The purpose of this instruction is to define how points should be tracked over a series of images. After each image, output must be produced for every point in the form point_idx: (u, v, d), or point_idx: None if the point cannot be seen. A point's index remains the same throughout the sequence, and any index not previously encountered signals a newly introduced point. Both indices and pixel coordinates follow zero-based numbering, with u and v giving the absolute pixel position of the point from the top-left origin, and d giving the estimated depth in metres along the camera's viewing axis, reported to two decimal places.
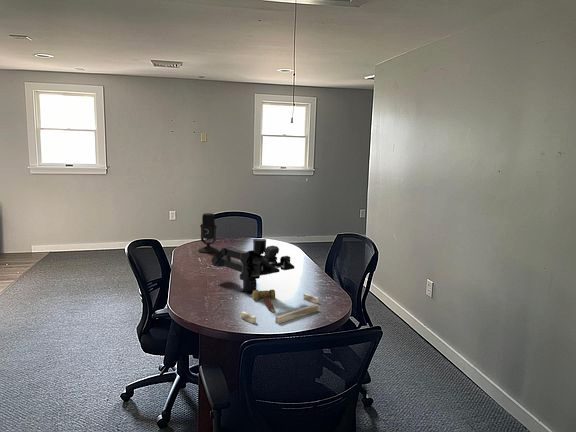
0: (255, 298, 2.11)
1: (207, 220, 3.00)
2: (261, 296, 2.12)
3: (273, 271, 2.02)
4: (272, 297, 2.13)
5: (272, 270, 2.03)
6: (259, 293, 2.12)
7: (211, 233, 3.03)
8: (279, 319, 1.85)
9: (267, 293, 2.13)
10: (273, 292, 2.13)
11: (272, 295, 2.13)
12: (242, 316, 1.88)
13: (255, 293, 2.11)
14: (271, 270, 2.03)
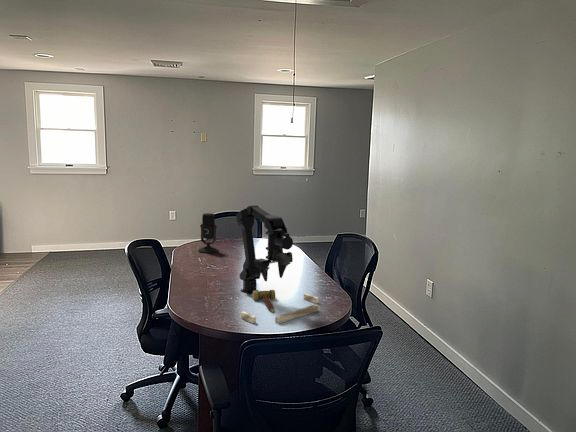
0: (255, 298, 2.11)
1: (207, 220, 3.00)
2: (261, 296, 2.11)
3: (263, 275, 2.03)
4: (272, 297, 2.13)
5: (263, 274, 2.03)
6: (259, 293, 2.12)
7: (211, 233, 3.03)
8: (279, 319, 1.85)
9: (267, 293, 2.12)
10: (273, 292, 2.13)
11: (272, 295, 2.12)
12: (242, 316, 1.88)
13: (255, 293, 2.11)
14: (263, 273, 2.03)
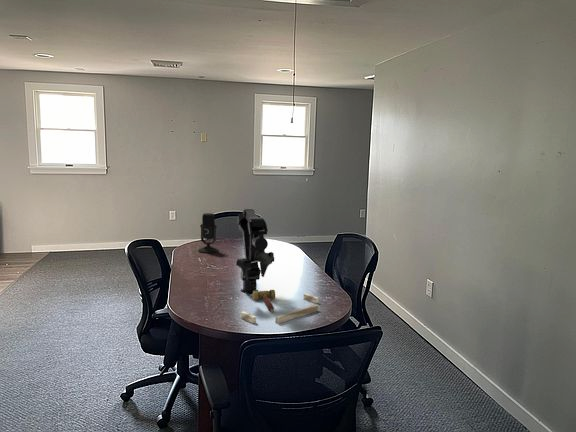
0: (255, 298, 2.10)
1: (207, 220, 3.00)
2: (261, 296, 2.11)
3: (245, 274, 2.08)
4: (272, 297, 2.12)
5: (245, 273, 2.07)
6: (259, 293, 2.11)
7: (211, 233, 3.03)
8: (279, 319, 1.85)
9: (267, 293, 2.12)
10: (273, 292, 2.13)
11: (272, 295, 2.12)
12: (242, 316, 1.88)
13: (255, 293, 2.11)
14: (245, 272, 2.07)
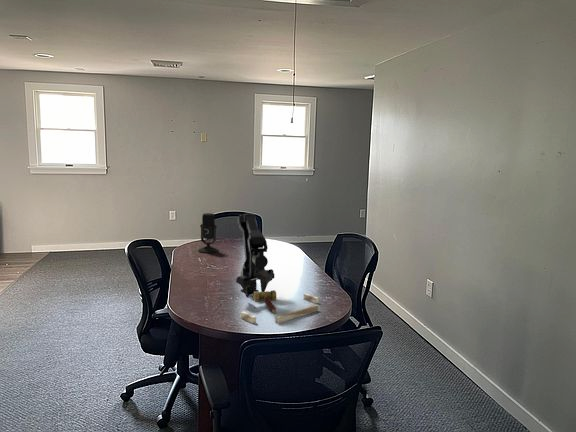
0: (256, 299, 2.10)
1: (207, 220, 3.00)
2: (262, 297, 2.10)
3: (245, 291, 2.08)
4: (273, 298, 2.12)
5: (245, 291, 2.08)
6: (260, 294, 2.11)
7: (211, 233, 3.03)
8: (279, 319, 1.85)
9: (268, 294, 2.11)
10: (274, 293, 2.12)
11: (273, 296, 2.12)
12: (242, 316, 1.88)
13: (256, 294, 2.10)
14: (245, 289, 2.08)
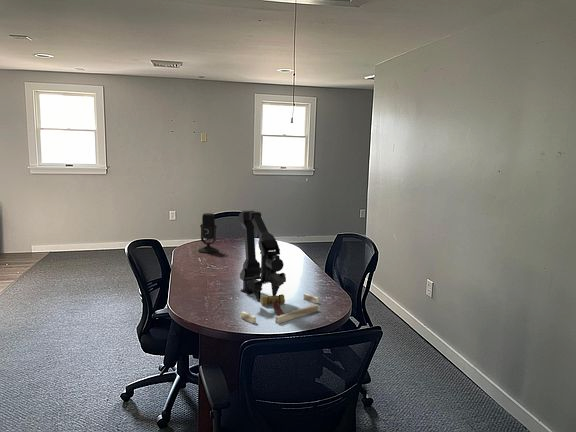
0: (264, 303, 2.04)
1: (207, 220, 3.00)
2: (270, 301, 2.05)
3: (256, 296, 2.03)
4: (281, 302, 2.06)
5: (256, 295, 2.03)
6: (268, 298, 2.05)
7: (211, 233, 3.03)
8: (279, 319, 1.85)
9: (276, 298, 2.06)
10: (282, 297, 2.06)
11: (281, 300, 2.06)
12: (242, 316, 1.88)
13: (264, 298, 2.04)
14: (256, 293, 2.03)
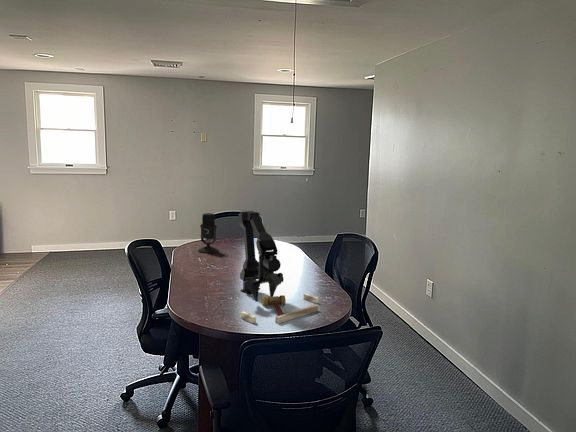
0: (264, 304, 2.03)
1: (207, 220, 3.00)
2: (271, 302, 2.04)
3: (253, 295, 2.04)
4: (282, 303, 2.05)
5: (254, 294, 2.04)
6: (269, 299, 2.04)
7: (211, 233, 3.03)
8: (279, 319, 1.85)
9: (277, 299, 2.05)
10: (283, 298, 2.05)
11: (282, 301, 2.05)
12: (242, 316, 1.88)
13: (264, 299, 2.03)
14: (253, 293, 2.04)
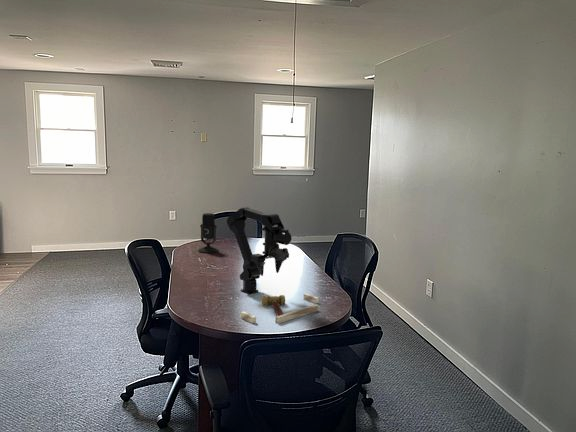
0: (264, 304, 2.03)
1: (207, 220, 3.00)
2: (270, 302, 2.04)
3: (259, 270, 2.10)
4: (282, 303, 2.05)
5: (259, 269, 2.10)
6: (268, 299, 2.04)
7: (211, 233, 3.03)
8: (279, 319, 1.85)
9: (277, 299, 2.05)
10: (283, 298, 2.05)
11: (282, 301, 2.05)
12: (242, 316, 1.88)
13: (264, 299, 2.03)
14: (259, 267, 2.10)
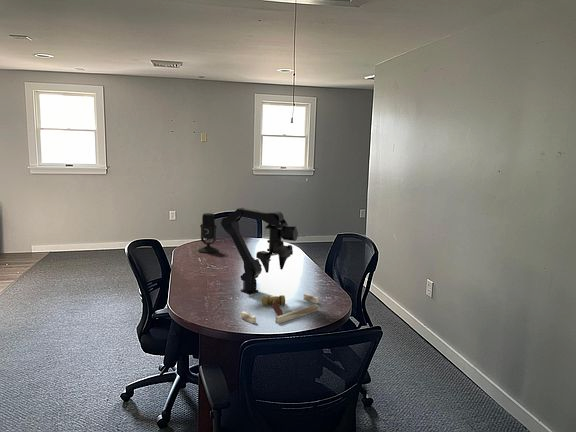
0: (264, 304, 2.03)
1: (207, 220, 3.00)
2: (270, 302, 2.04)
3: (264, 267, 2.14)
4: (282, 303, 2.05)
5: (265, 266, 2.14)
6: (268, 299, 2.04)
7: (211, 233, 3.03)
8: (279, 319, 1.85)
9: (277, 299, 2.05)
10: (283, 298, 2.05)
11: (282, 301, 2.05)
12: (242, 316, 1.88)
13: (264, 299, 2.03)
14: (264, 264, 2.14)
